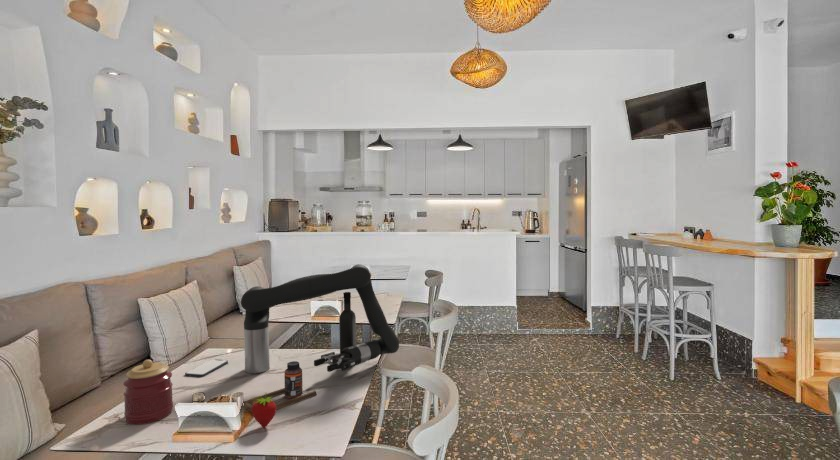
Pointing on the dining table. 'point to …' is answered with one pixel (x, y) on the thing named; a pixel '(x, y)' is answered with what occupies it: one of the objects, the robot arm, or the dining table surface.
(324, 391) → the dining table surface
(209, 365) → the phone case
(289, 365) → the supplement bottle
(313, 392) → the walnut track
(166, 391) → the canister
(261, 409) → the strawberry
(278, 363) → the dining table surface
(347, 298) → the wine bottle
